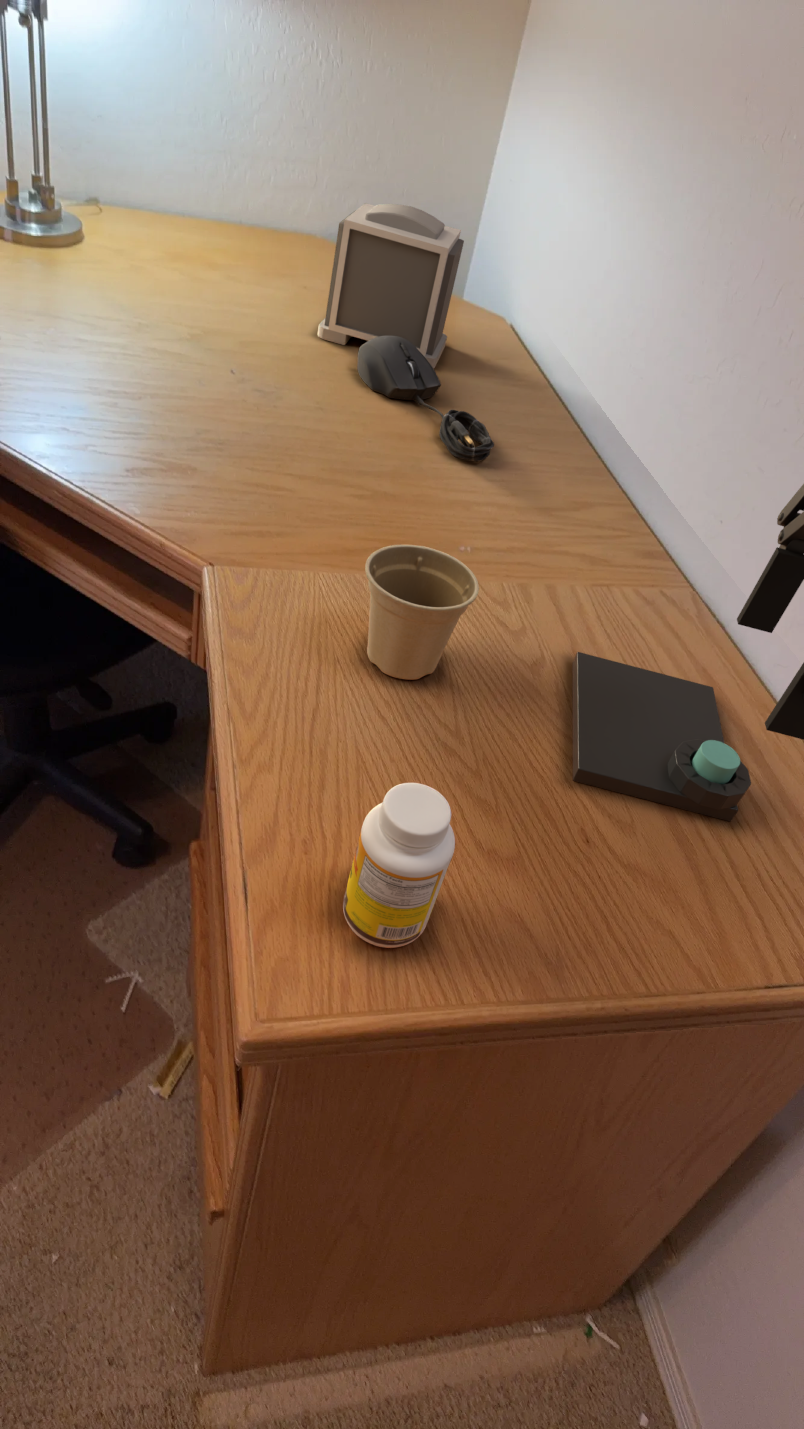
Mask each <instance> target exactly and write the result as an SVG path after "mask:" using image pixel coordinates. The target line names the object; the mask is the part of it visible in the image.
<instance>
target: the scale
mask: <svg viewBox="0 0 804 1429" xmlns="http://www.w3.org/2000/svg"><path fill="white" fill-rule="evenodd" d="M715 694H716V693H715V690H714V687H713V686H711V685H707V684H703V683H698V682H695V681H691V680H687V679H684V678H679V677H675V676H672V675H668V674H665V673H661V672H657V671H652V670H649V669H645V668H641V667H637V666H634V665H630V664H626V663H623V662H619V661H615V660H611V659H607V658H603V657H599V656H595V655H592V654H588V653H585V652H581V651H577V652H576V654H575V656H574V658H573V660H572V781H573V782H575V783H576V782H577V783H580V784H584V785H588V786H592V787H596V788H599V789H603V790H607V791H611V792H614V793H619V794H622V795H627V796H630V797H635V798H638V799H642V800H646V801H648V802H649V801H650V802H654V803H656V804H657V803H658V804H661V805H666V806H669V807H673V808H676V809H681V810H684V811H688V812H691V813H695V814H700V815H703V816H706V817H707V816H708V817H712V818H715V819H719V820H722V821H726V822H732V821H733V819H734V818H735V816H736V814H737V813H738V812H739V807H738V806H739V805H738V804H739V803H740V801H741V800H742V799H743V797H744V796H745V794H746V792H748V789H749V788H750V786H751V785H752V780H751V777H750V772H749V768H748V767H747V766H746V765H745V764H744V763H743V762H742V761H741V760H740V765H739V767H738V768H737V770H736V771H735V773H734V774H733V776H732V778H731V779H730V781H729V782H727V783H725V784H718V783H714V782H710V781H709V780H707V779H705V778H704V777H702V776H701V775H699V774H698V773H697V772H696V771H695V769H694V768H693V766H692V760H693V758H694V756H695V755H696V753H697V751H698V750H699V748H700V746H701V744H702V743H703V742H705V741H708V740H715V741H719V742H722V743H725V739H724V734H723V733H724V732H723V729H722V723H721V719H720V715H719V709H718V704H717V699H716V696H715Z"/></svg>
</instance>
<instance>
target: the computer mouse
mask: <svg viewBox="0 0 804 1429" xmlns="http://www.w3.org/2000/svg"><path fill="white" fill-rule="evenodd" d="M356 367H357V372H358V375H359V377H360V379H361V380H362V382H364V383H365V385H366V386H367V387H368V388H369V389H370V390H372V391H373V392H376V393H380V394H381V395H384V396H386V397H388V398H390V399H397V400H405V401H415V402H416V404H418V405H419V406H423V407H425V408H427V409H429V410H431V411H432V412H435V413H437V414H438V415H439V416H440V417H441V422H440V428H439V432H438V433H439V434H438V435H439V438H440V440H441V442H442V443H443V444H444V446H445V447H446V450H448V452H449V454H451V455H452V456H453V457H455V458H458V459H462V460H464V461H470V462H482V461H483V460H486V459H488V457H489V456H490V454H491V450H492V449H493V448H494V447H495V443H494V441H493V440H492V438H491V436H490V432H489V431H488V429H487V428H486V425H485V424H484V423H483V422H481V421H480V420H478V419H477V417H475V416H474V415H472V414H471V413H469V412H467V411H465V410H458V409H457V410H456V409H449V410H448V411H447V412H446V413H445V414H443V413H442V412H441V411H440V410H439V409H437V408H436V407H435V406H432V405H430V404H427V403H425V402H424V400H427V399H430V398H433V397H434V396H435V395H436V393H437V392H438V390H440V388H441V386H442V383H441V380H440V379H439V376H438V374H437V372H436V370H435V368H433V367H432V366H431V364H430V363H429V362H428V360H427V359H426V358H425V357H424V356H423V354H422V353H421V352H420V351H419V350H418V349H417V348H416V347H415V346H414V345H413V344H412V343H411V342H410V341H408V340H406V339H404V338H401V337H398V336H379V337H376V338H373V339H371V340H369V341H367V340H366V342H364V343H363V344H361V345H360V347H358V352H357V366H356ZM472 438H473V439H472ZM474 441H475V442H476V443H479V444H481V445H478V446H475V442H474Z"/></svg>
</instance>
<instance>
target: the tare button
mask: <svg viewBox="0 0 804 1429" xmlns="http://www.w3.org/2000/svg"><path fill="white" fill-rule="evenodd" d="M740 761H741V758H740V755H739V754H738V752H737V751H736V750H735V749H734V748H733V747H732V746H730V745H728V744H726V743H725V742H724V743H722V742H719V741H715V740H708V741H705V742H703V743H702V744H701V746H700V748H699V750H698V751H697V753H696V755H695V756H694V758H693V760H692V766H693V768H694V769H695V771H696V772H697V773H698V774H699V775H701V776H702V777H704V778H705V779H707V780H709V781H710V782H714V783H718V784H725V783H727V782H729V781H730V779H731V778H732V776H733V774H734V773H735V771H736V770H737V768H738V767H739V765H740Z"/></svg>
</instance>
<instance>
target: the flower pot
mask: <svg viewBox="0 0 804 1429" xmlns="http://www.w3.org/2000/svg"><path fill="white" fill-rule="evenodd" d="M364 573H365V576H366V579H367V581H368V582H367V585H368V590H369V593H370V594H369V611H368V612H369V615H368V631H367V632H368V634H367V648H366V653H367V658H368V660H369V661H370V663H372V664H374V665H375V666H376V667H377V668H378V669H379V670H380V671H381V672H382V673H384V674H385V675H387V676H389V677H392V678H394V679H395V678H396V679H399V680H409V681H411V680H419V679H421V678H423V677H424V676H427V675H432V674H433V673H434V672H435V670H436V669H437V666H438V664H439V662H440V659H441V658H442V656H443V654H444V651H445V649H446V647H447V645H448V643H449V640H450V638H451V637H452V634H453V632H454V631H455V628H456V626H457V625H458V622H459V620H460V617H461V616H462V615H463V614H464V613H465V612H466V611H467V609H468V607H469V606H470V605H471V604H473V603H474V601H475V600H476V599H477V597H478V595H479V592H480V585H479V581H478V578H477V576H476V575H475V573H474V572H473V570H471V569H470V568H469V566H467V565H466V564H465V563H463V562H462V561H461V560H460V559H458V558H456V557H455V556H453V555H451V554H448V553H446V552H444V551H441V550H439V549H435V548H432V547H428V546H424V545H418V544H417V545H415V544H391V545H386V546H384V547H380V548H379V549H377V550H375V551H374V552H372V553H370V554H369V556H368V557H367V559H366V561H365V566H364Z"/></svg>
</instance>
